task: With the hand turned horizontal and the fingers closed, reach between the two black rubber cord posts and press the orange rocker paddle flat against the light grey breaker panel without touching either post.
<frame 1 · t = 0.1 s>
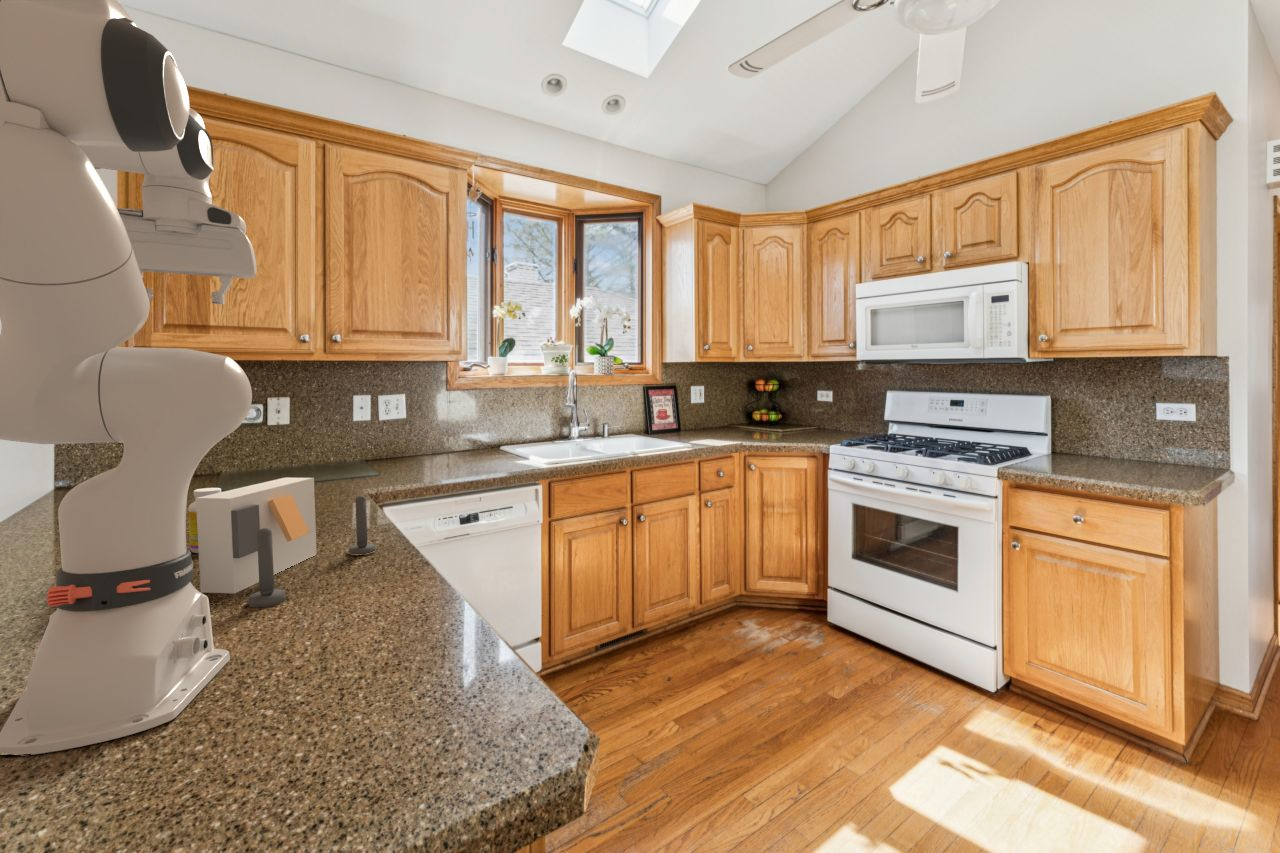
hand: (182, 302, 94), 48 cm above the countertop, tool pointing down, fingers open, 8 cm apart
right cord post: (362, 552, 122), on the countertop
supplement bottle: (210, 550, 124), on the countertop
orange paddle: (289, 517, 108), point 10 cm above the countertop, hinge at 25.0°
black paddle: (246, 530, 100), point 10 cm above the countertop, hinge at 0.0°
breaker panel: (279, 572, 109), on the countertop
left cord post: (267, 601, 94), on the countertop
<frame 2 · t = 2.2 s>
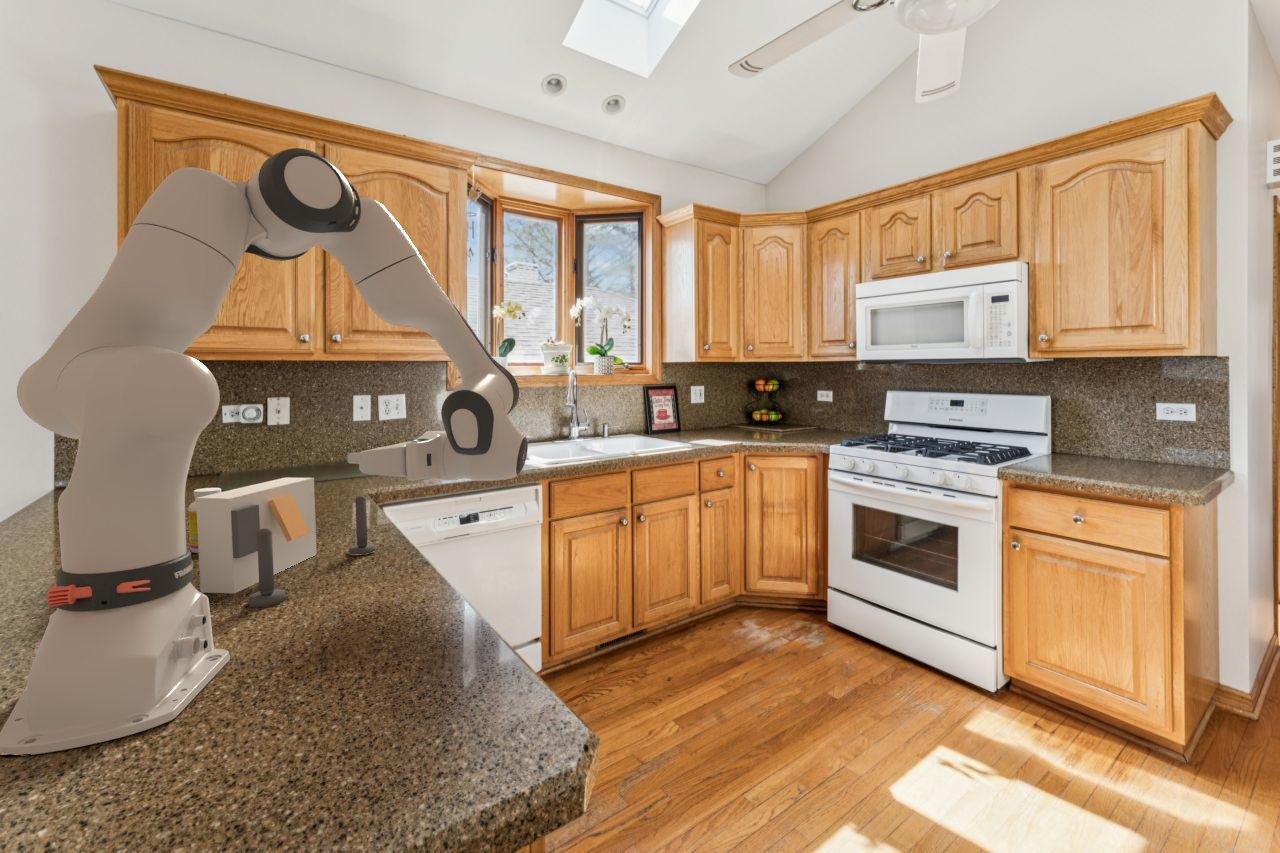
hand: (362, 455, 106), 22 cm above the countertop, tool horizontal, fingers open, 7 cm apart
nothing on the countertop moved.
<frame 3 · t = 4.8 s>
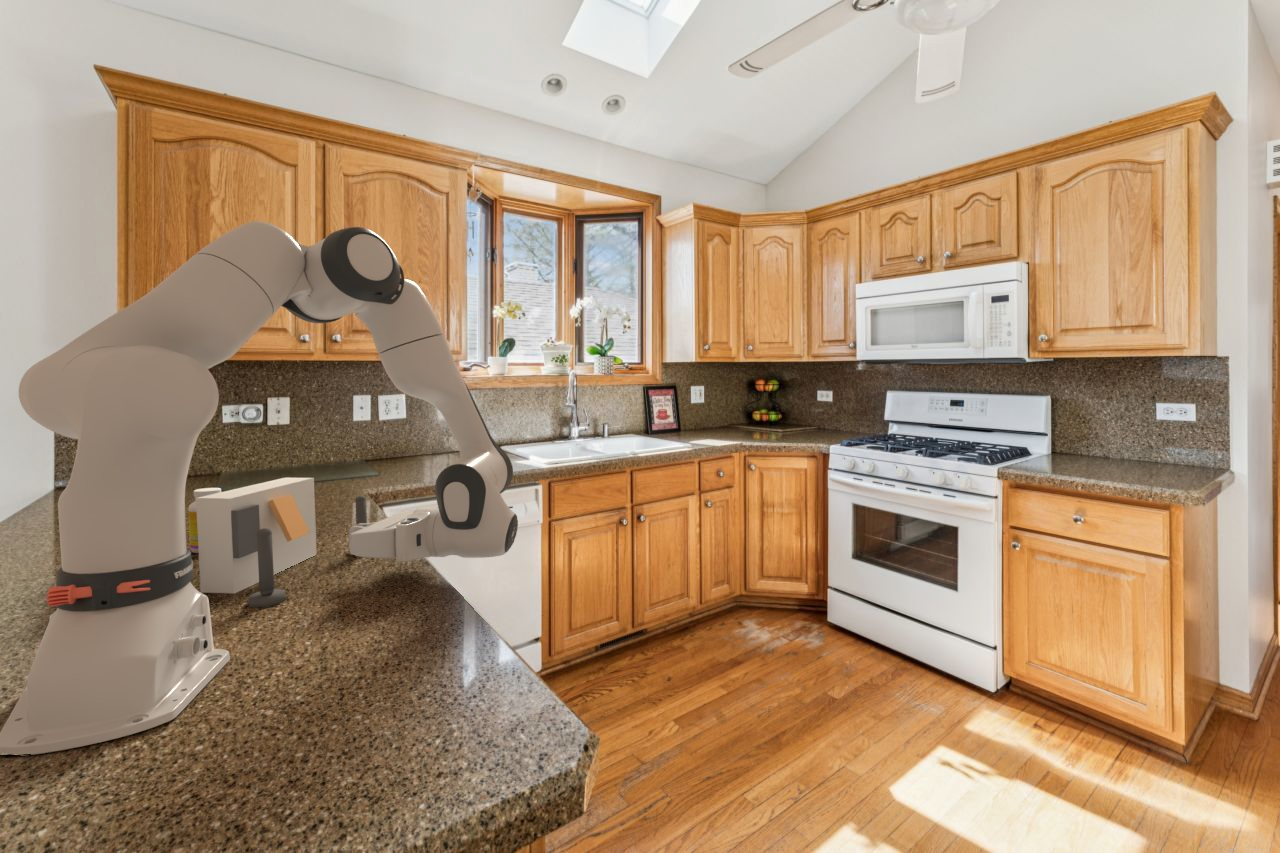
hand: (353, 529, 107), 8 cm above the countertop, tool horizontal, fingers closed
nothing on the countertop moved.
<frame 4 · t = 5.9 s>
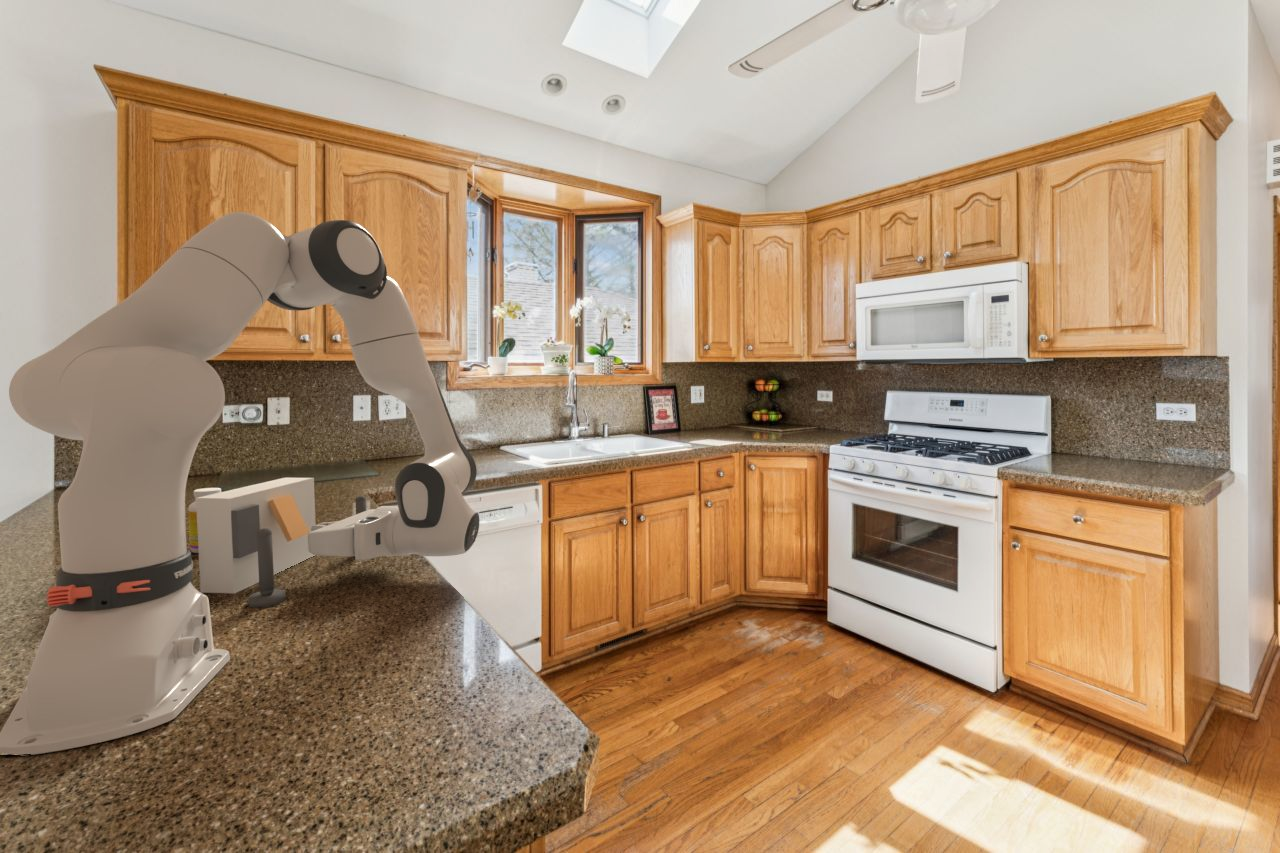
hand: (316, 528, 108), 8 cm above the countertop, tool horizontal, fingers closed
nothing on the countertop moved.
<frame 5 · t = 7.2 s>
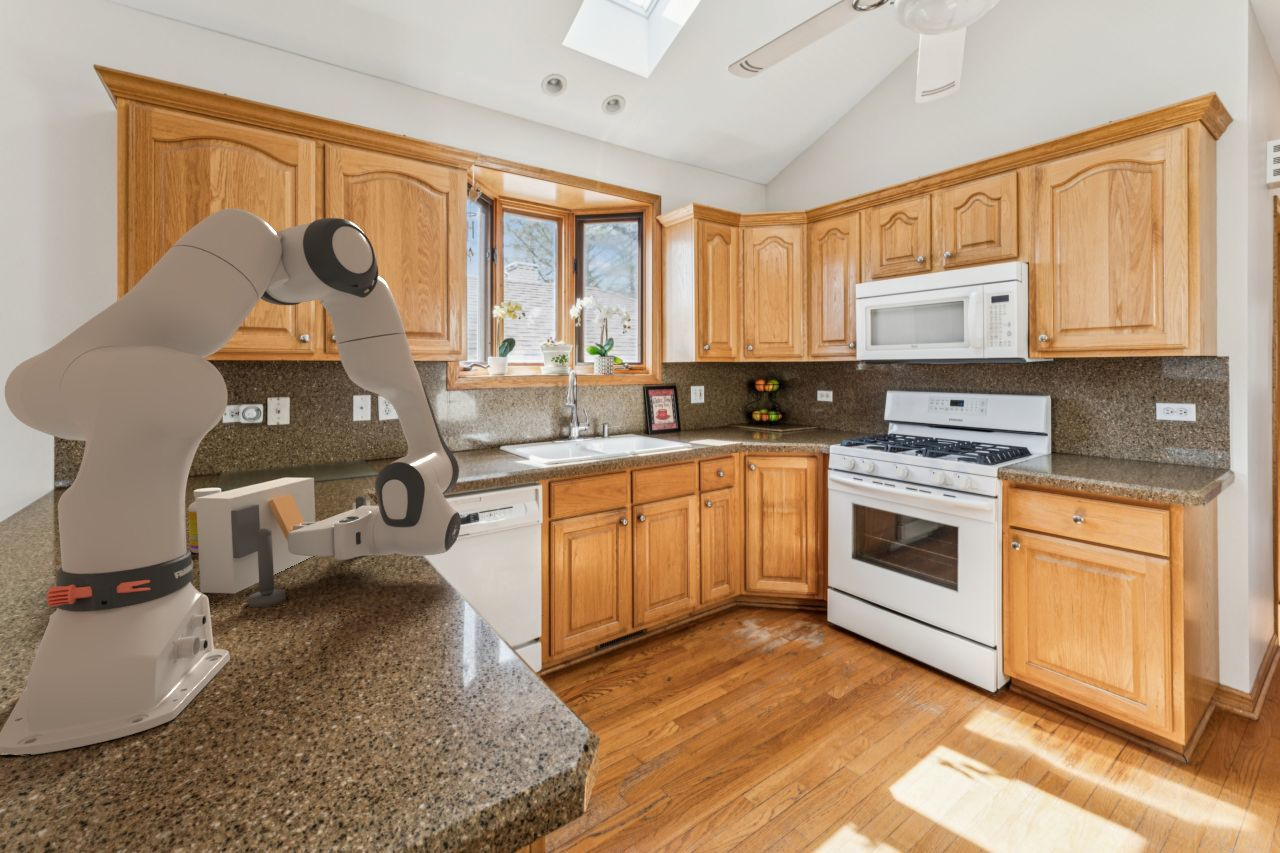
hand: (297, 528, 108), 8 cm above the countertop, tool horizontal, fingers closed, pressing on orange paddle
orange paddle: (289, 517, 108), point 10 cm above the countertop, hinge at 25.0°, touching gripper
everything else where it was.
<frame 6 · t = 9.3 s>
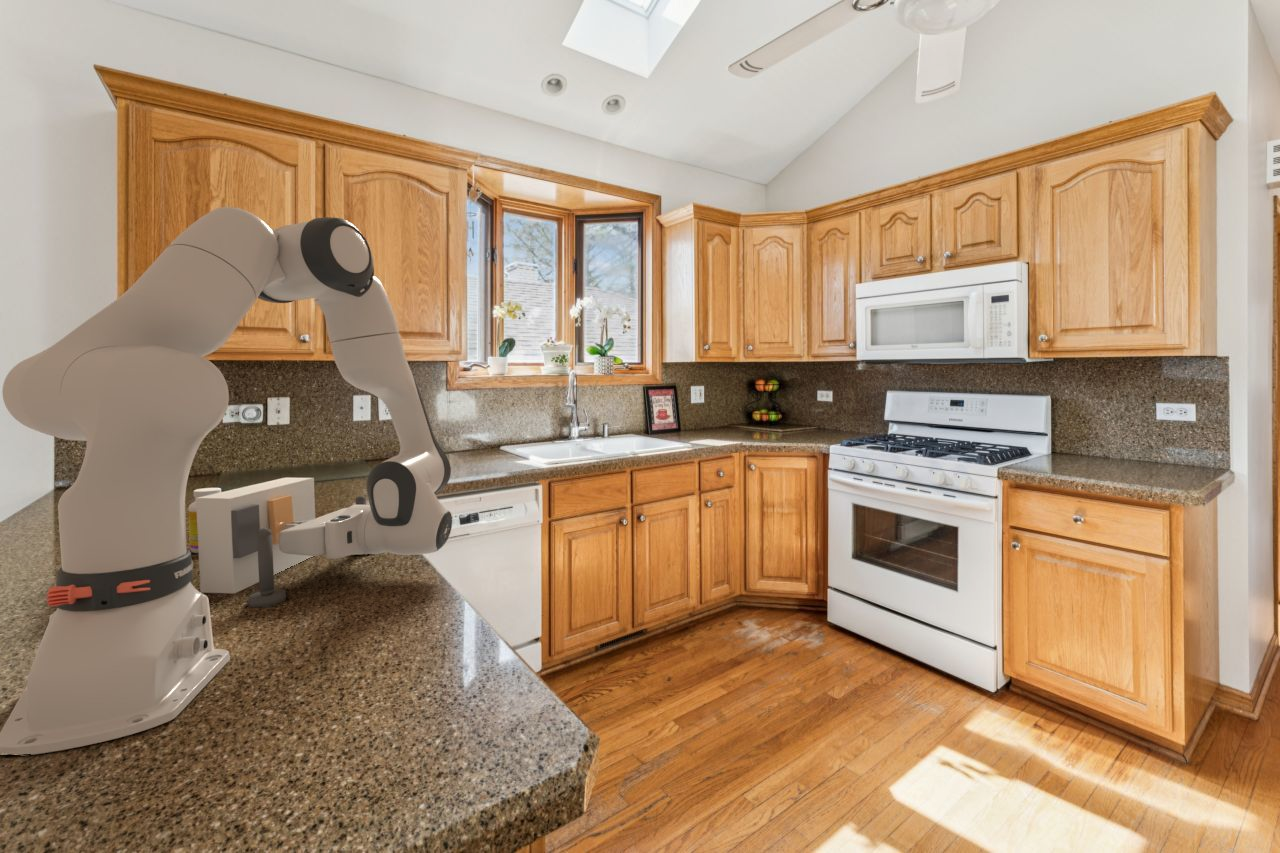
hand: (289, 527, 108), 9 cm above the countertop, tool horizontal, fingers closed
orange paddle: (281, 519, 108), point 10 cm above the countertop, hinge at 2.7°
everything else where it was.
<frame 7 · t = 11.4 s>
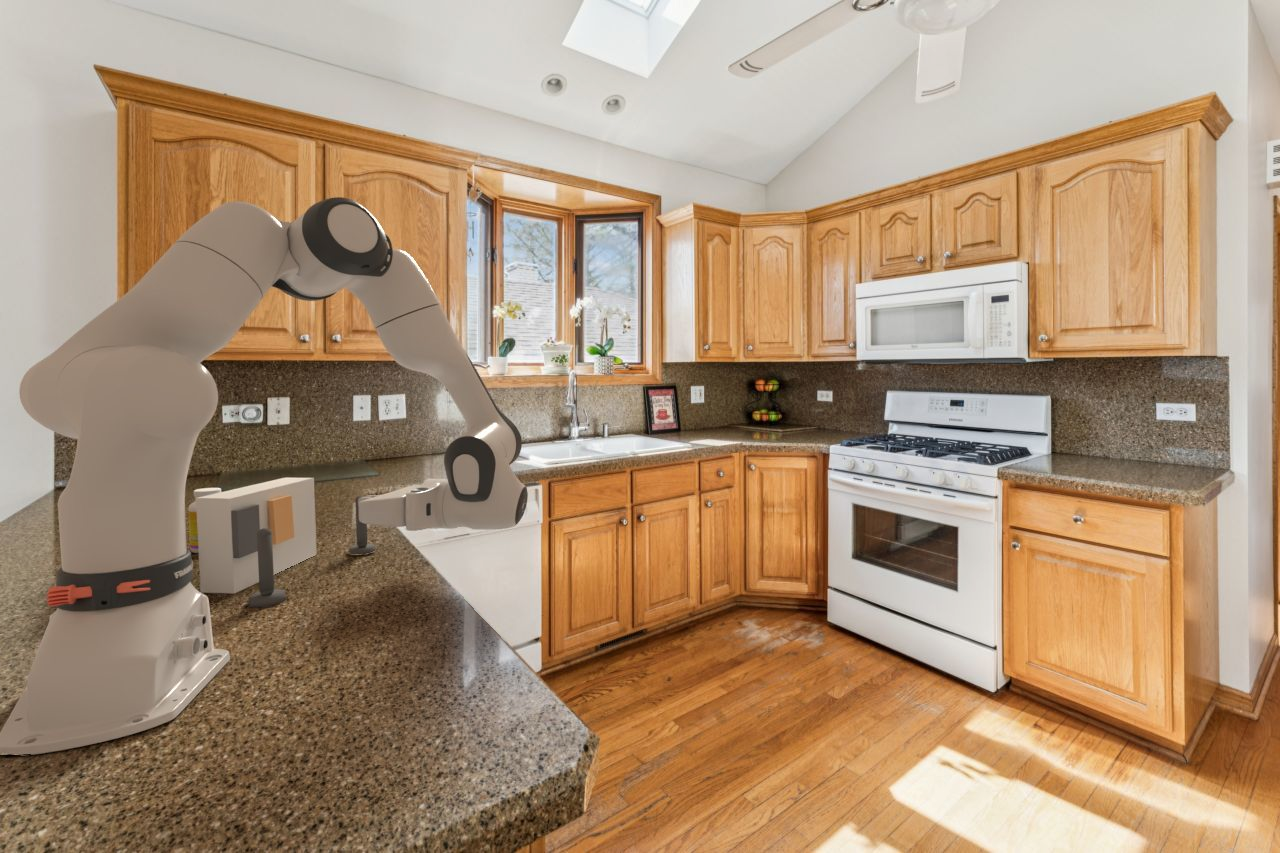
hand: (362, 501, 106), 14 cm above the countertop, tool horizontal, fingers closed
orange paddle: (281, 519, 108), point 10 cm above the countertop, hinge at 2.0°
everything else where it was.
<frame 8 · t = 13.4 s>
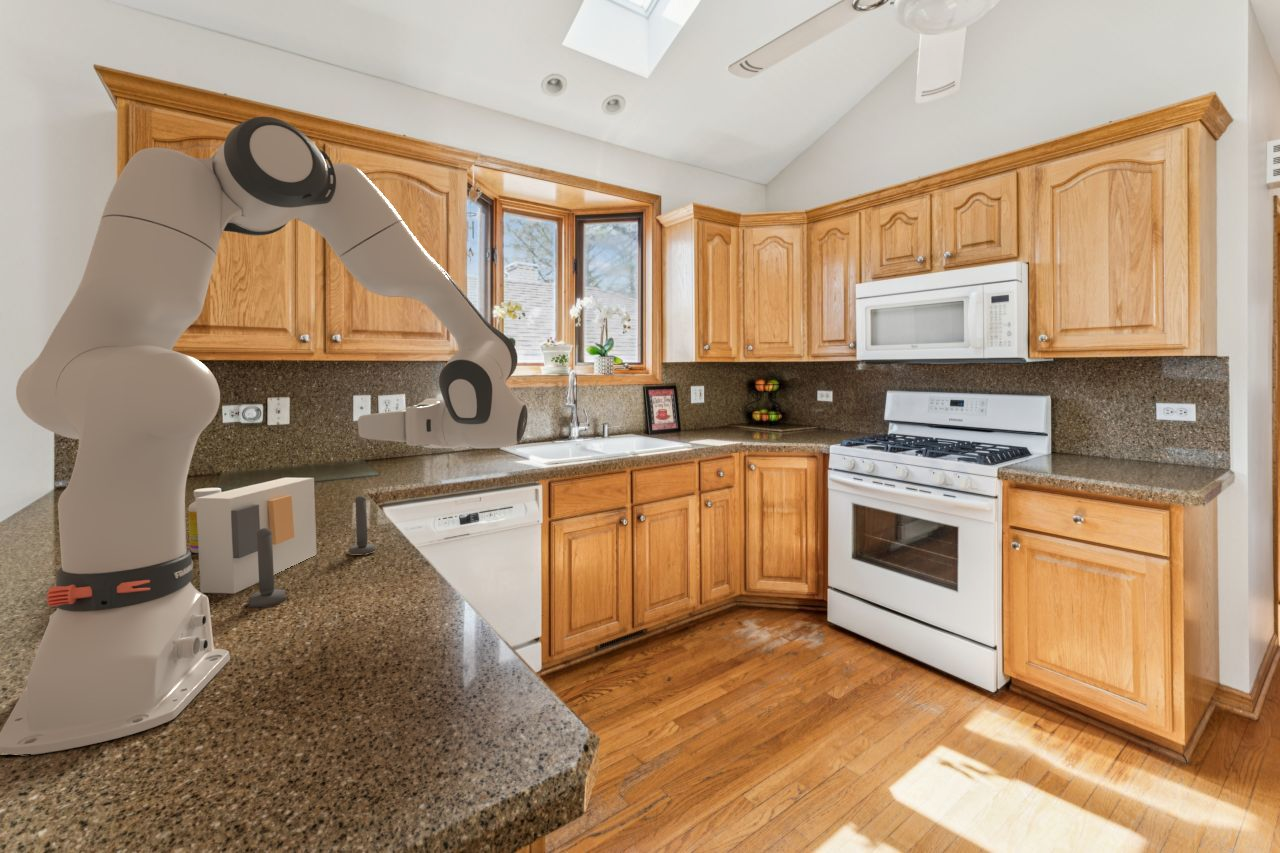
hand: (362, 422, 106), 28 cm above the countertop, tool horizontal, fingers closed
nothing on the countertop moved.
at the end: orange paddle at +2° (first picture: +25°); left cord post moved 0.0 cm from its start; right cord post moved 0.0 cm from its start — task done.
